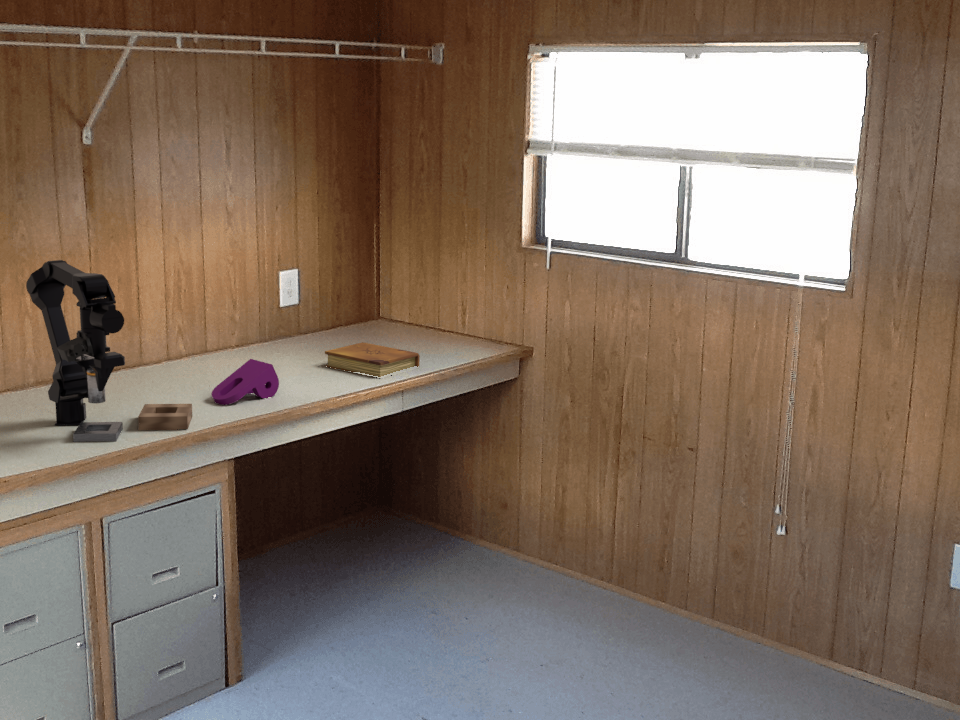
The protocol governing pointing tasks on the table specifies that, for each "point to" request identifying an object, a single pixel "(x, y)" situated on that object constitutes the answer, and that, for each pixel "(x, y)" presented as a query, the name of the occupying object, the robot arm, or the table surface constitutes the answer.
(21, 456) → the table surface
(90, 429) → the pin mount
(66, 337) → the robot arm
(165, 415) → the socket block
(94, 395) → the steel pin
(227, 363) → the table surface
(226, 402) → the mounting bracket
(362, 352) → the diary
